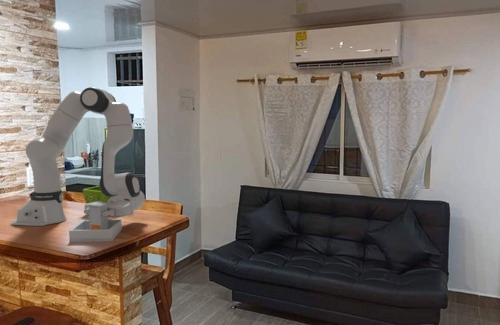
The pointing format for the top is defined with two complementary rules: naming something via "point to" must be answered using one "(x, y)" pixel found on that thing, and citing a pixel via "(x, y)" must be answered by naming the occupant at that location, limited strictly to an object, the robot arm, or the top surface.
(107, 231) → the grey square tray
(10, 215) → the top surface
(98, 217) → the skincare box
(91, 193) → the flower pot
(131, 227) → the top surface
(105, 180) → the robot arm
